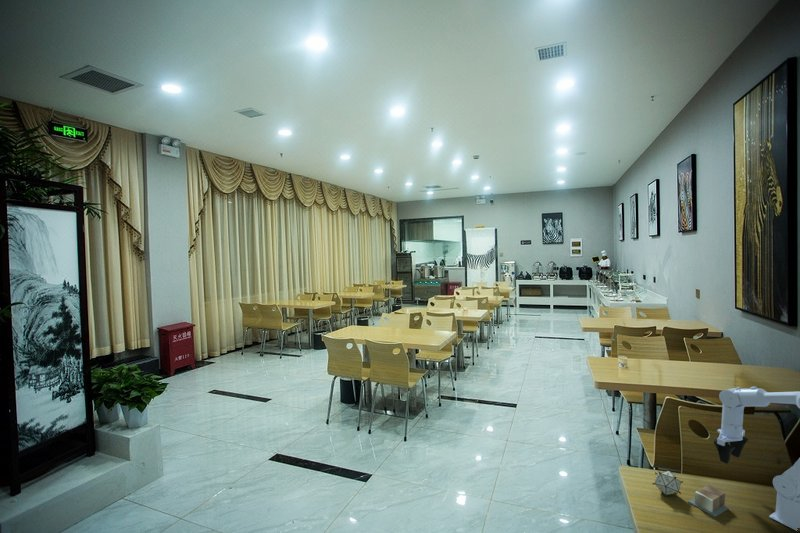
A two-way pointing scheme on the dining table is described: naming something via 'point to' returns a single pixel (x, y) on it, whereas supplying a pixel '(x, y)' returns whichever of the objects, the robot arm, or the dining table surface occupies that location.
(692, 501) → the mat
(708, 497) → the pinkish beige block
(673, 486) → the game die
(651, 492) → the dining table surface
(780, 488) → the robot arm
